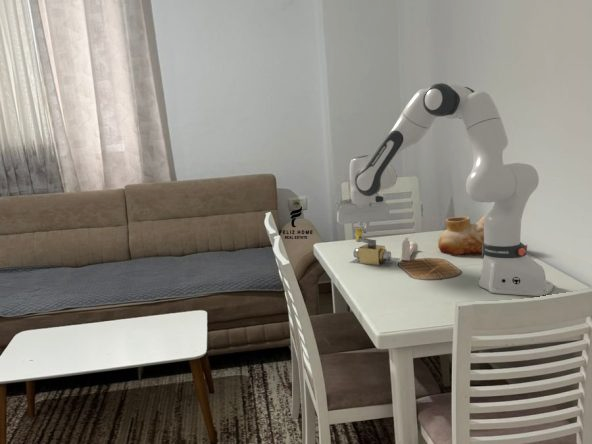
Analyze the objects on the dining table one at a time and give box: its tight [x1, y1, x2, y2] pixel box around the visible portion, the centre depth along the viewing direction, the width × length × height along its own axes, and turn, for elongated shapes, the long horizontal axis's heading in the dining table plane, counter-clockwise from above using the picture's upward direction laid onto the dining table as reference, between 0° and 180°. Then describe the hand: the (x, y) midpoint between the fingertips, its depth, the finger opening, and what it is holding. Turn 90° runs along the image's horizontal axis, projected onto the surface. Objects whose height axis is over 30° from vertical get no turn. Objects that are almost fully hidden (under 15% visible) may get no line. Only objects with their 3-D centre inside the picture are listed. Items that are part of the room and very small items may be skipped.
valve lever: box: [355, 227, 377, 247], centre depth 235 cm, size 11×3×6 cm, turn 30°
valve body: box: [353, 243, 392, 266], centre depth 233 cm, size 14×6×6 cm, turn 57°
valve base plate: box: [349, 257, 401, 268], centre depth 235 cm, size 16×12×1 cm
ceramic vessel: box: [437, 213, 488, 257], centre depth 240 cm, size 14×26×15 cm, turn 82°
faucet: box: [400, 235, 419, 262], centre depth 240 cm, size 4×18×10 cm, turn 159°
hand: (364, 233), depth 239 cm, fingers closed
